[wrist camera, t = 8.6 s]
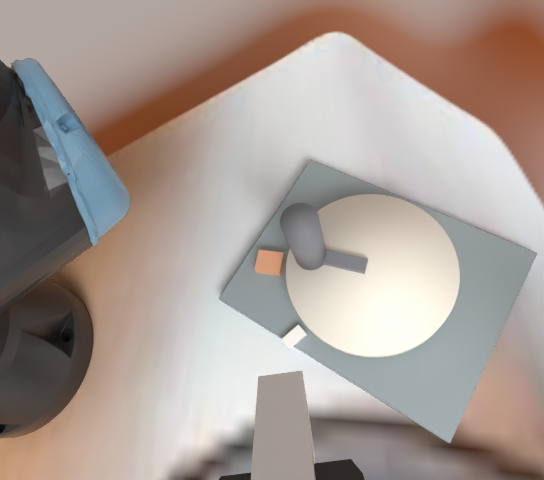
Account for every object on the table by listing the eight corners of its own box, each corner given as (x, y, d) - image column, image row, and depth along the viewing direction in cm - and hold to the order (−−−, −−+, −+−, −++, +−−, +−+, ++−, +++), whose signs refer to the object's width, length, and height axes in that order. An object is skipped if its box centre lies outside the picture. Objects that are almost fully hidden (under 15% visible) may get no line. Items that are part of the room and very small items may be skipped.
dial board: (219, 306, 39) (211, 300, 37) (311, 165, 43) (309, 153, 41) (444, 448, 30) (449, 450, 28) (531, 258, 34) (541, 248, 33)
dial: (287, 213, 39) (267, 161, 31) (437, 196, 37) (458, 134, 29) (292, 361, 34) (269, 345, 25) (471, 354, 31) (509, 333, 23)
